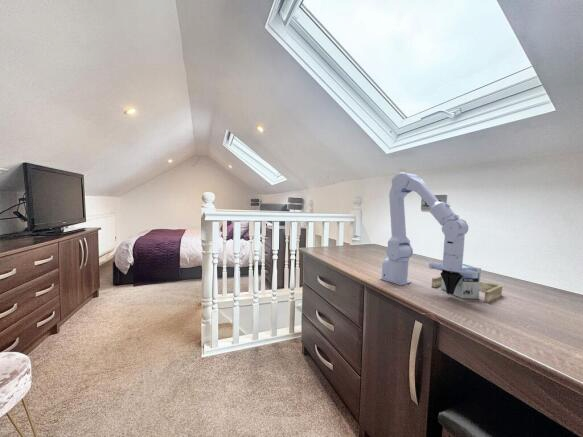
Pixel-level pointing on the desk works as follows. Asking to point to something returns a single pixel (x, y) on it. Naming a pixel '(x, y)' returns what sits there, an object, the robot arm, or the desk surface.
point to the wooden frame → (490, 289)
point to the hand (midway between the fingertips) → (450, 293)
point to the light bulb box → (467, 284)
